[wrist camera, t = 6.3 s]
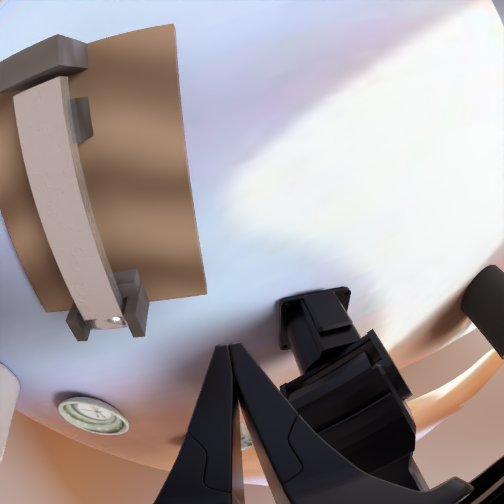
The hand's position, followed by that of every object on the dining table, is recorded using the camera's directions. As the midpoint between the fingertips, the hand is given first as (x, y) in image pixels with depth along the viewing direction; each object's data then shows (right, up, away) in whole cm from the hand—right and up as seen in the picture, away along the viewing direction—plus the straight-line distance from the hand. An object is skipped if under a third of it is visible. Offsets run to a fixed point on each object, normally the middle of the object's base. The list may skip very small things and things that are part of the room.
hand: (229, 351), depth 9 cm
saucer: (-20, -17, +21) cm, 33 cm away
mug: (+34, -3, +24) cm, 42 cm away
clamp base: (-10, +8, +8) cm, 15 cm away
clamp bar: (-10, +5, +5) cm, 12 cm away
